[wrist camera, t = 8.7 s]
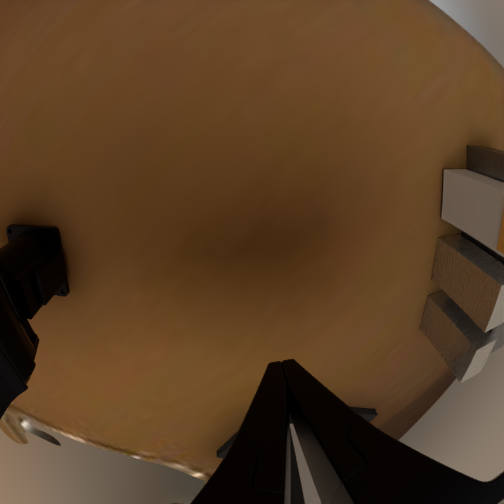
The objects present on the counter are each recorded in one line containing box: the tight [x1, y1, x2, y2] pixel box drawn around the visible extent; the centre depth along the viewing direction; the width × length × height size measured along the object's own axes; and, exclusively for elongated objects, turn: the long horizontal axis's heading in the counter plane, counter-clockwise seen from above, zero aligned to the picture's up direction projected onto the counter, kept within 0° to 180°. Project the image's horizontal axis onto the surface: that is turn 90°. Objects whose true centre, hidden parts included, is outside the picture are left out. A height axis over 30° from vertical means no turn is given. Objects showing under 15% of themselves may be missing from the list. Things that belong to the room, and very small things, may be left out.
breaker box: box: [420, 146, 504, 383], centre depth 19 cm, size 8×20×9 cm, turn 8°
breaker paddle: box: [441, 169, 504, 257], centre depth 16 cm, size 3×4×9 cm
